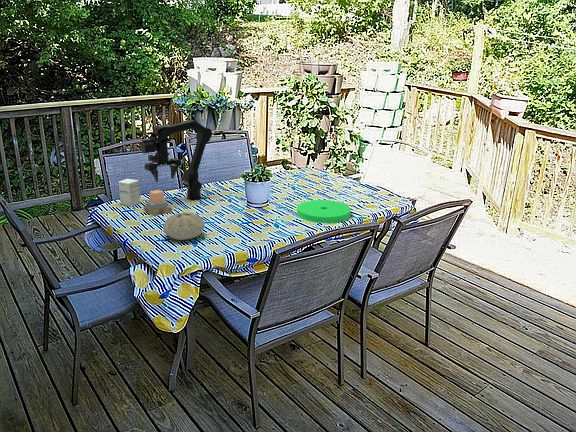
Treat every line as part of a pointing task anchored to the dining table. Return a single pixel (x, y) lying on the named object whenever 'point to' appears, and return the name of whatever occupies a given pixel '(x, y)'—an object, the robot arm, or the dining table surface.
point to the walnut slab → (159, 211)
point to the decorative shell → (183, 226)
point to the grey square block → (156, 205)
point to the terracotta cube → (156, 196)
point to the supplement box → (129, 192)
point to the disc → (323, 211)
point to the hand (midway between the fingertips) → (164, 180)
